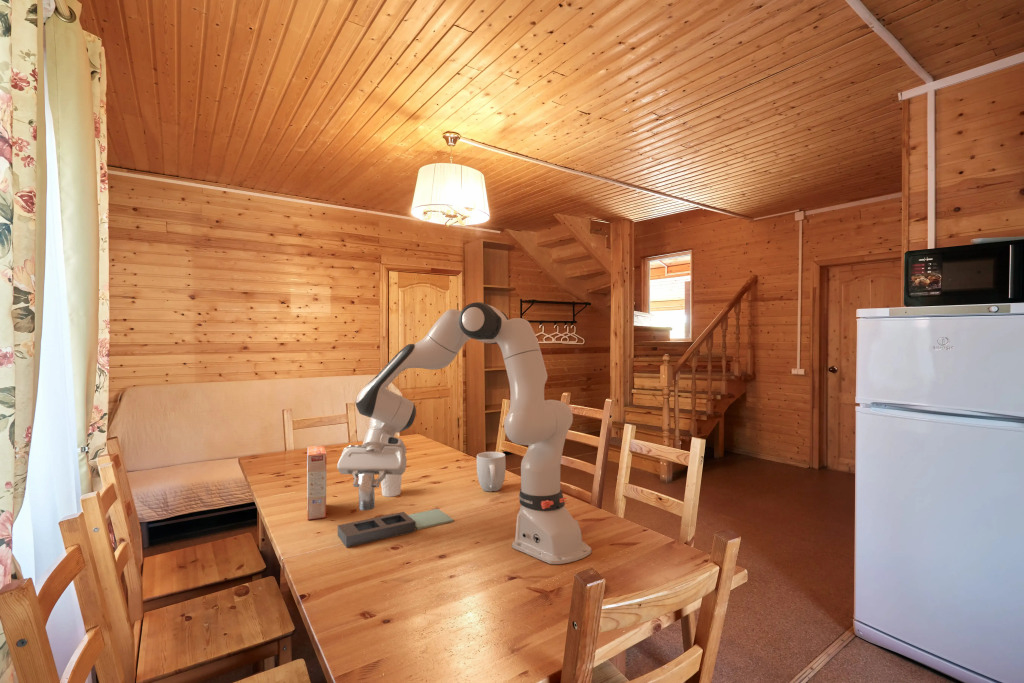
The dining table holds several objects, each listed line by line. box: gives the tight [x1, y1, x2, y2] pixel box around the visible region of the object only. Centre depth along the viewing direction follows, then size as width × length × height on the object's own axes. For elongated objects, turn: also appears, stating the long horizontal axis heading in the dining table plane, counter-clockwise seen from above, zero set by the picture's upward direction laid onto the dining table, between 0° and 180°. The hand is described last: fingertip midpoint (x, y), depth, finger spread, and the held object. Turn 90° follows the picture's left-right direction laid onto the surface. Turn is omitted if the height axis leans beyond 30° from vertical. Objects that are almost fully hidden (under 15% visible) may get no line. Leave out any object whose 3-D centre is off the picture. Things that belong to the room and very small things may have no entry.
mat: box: [407, 508, 455, 531], centre depth 154 cm, size 12×12×1 cm
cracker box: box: [306, 445, 327, 520], centre depth 162 cm, size 14×6×21 cm, turn 23°
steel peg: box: [357, 471, 376, 511], centre depth 142 cm, size 4×4×10 cm
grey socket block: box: [337, 511, 417, 548], centre depth 144 cm, size 10×20×3 cm, turn 123°
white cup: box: [380, 474, 403, 497], centre depth 181 cm, size 8×8×10 cm
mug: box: [476, 451, 507, 493], centre depth 183 cm, size 15×11×13 cm
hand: (365, 486), depth 141 cm, fingers closed on steel peg, 4 cm apart
